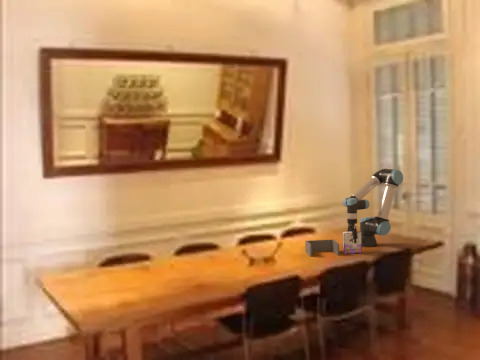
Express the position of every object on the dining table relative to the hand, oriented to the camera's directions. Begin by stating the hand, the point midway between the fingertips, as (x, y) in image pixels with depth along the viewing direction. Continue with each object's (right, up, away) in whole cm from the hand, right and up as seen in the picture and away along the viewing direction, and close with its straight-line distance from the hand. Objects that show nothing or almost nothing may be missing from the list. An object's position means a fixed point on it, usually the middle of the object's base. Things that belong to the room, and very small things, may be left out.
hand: (352, 245), depth 476 cm
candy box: (0, -6, +1) cm, 6 cm away
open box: (-23, -6, 0) cm, 24 cm away
